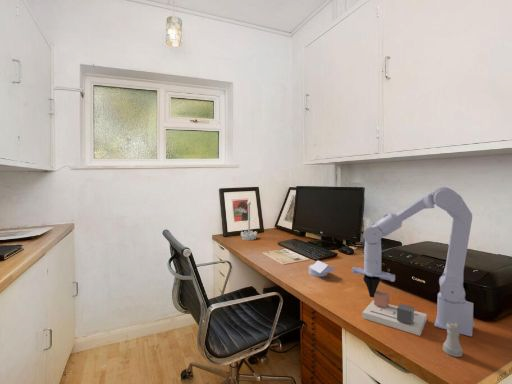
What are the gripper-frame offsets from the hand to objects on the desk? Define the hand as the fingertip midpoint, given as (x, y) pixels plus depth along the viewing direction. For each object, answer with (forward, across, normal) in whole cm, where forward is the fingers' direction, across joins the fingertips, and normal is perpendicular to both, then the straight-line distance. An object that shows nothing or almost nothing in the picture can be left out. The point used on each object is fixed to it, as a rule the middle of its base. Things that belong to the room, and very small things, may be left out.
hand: (372, 296), depth 100 cm
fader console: (+4, +8, -4) cm, 10 cm away
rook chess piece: (+5, +25, -13) cm, 28 cm away
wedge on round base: (+5, -31, +21) cm, 38 cm away
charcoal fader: (+2, +12, -7) cm, 14 cm away
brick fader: (+2, +3, 0) cm, 4 cm away
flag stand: (+4, -114, +63) cm, 130 cm away
